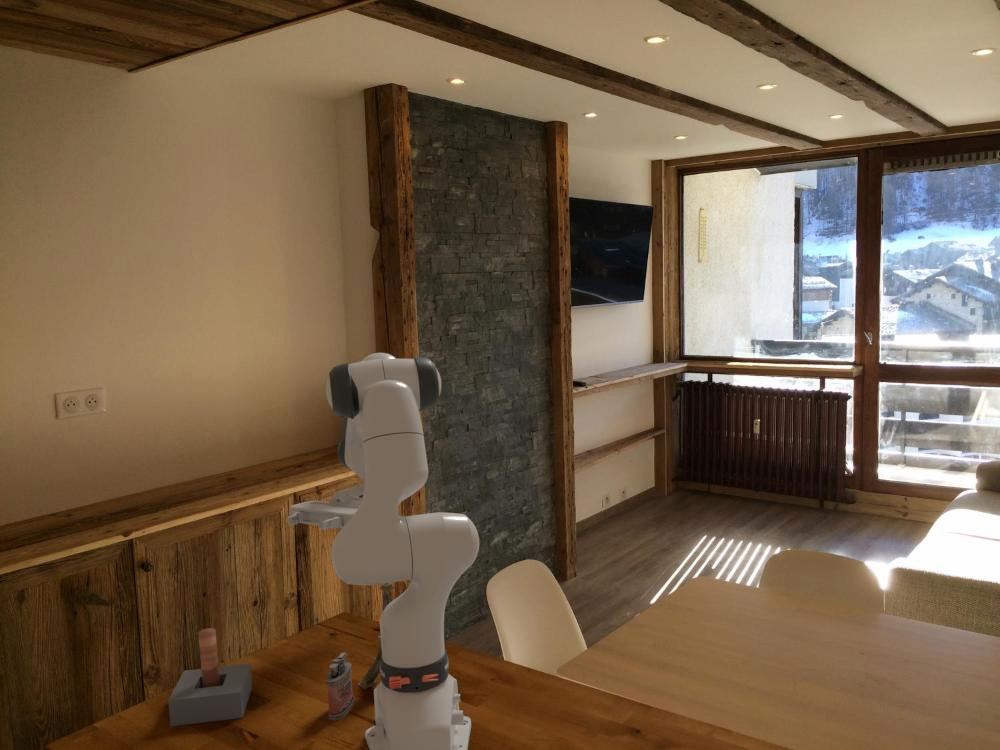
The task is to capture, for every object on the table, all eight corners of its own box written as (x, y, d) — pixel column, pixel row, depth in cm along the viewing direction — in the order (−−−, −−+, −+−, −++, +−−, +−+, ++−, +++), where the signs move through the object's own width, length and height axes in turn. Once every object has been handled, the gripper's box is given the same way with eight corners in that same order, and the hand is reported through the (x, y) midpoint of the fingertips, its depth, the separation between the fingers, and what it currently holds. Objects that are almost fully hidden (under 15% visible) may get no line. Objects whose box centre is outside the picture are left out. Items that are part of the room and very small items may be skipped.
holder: (242, 717, 159) (240, 692, 159) (170, 726, 157) (168, 700, 157) (252, 686, 172) (250, 663, 171) (186, 694, 170) (183, 670, 170)
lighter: (341, 720, 156) (338, 668, 155) (324, 719, 157) (320, 667, 156) (357, 699, 164) (354, 650, 163) (341, 699, 164) (337, 649, 164)
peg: (220, 703, 163) (213, 633, 162) (202, 705, 163) (196, 635, 161) (222, 696, 166) (216, 627, 165) (206, 698, 166) (199, 629, 164)
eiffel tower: (401, 668, 177) (394, 552, 175) (430, 684, 169) (422, 563, 166) (357, 685, 170) (348, 564, 168) (384, 702, 162) (375, 576, 160)
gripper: (314, 491, 198) (269, 505, 187) (381, 498, 188) (339, 513, 176) (316, 517, 199) (272, 533, 187) (383, 526, 188) (341, 543, 176)
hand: (305, 523), depth 181 cm, fingers open, 8 cm apart
